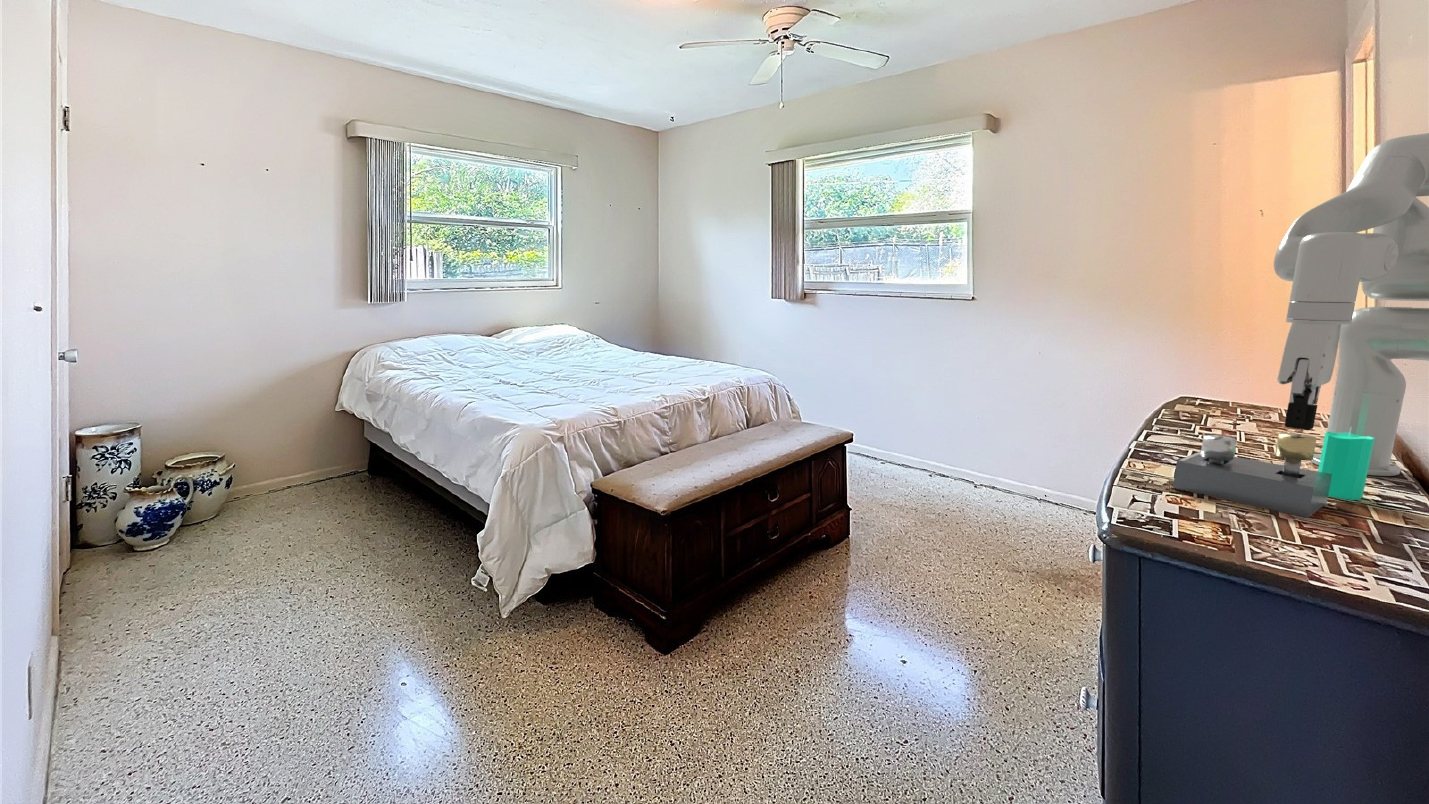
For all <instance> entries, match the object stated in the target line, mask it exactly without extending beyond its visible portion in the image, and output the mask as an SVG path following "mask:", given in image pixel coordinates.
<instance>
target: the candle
mask: <svg viewBox="0 0 1429 804" xmlns="http://www.w3.org/2000/svg"><path fill="white" fill-rule="evenodd" d="M1351 428H1352V427H1350V432H1349V433H1333V432H1327V431H1326V432H1325V433H1324V437H1323V443H1322V447H1321V448H1322V449H1321V452H1320V454H1321V458H1320V463H1319V465H1318V472H1324V473H1329V474H1332V478H1331V484H1330V489H1329V494H1328V497H1331V498H1336V499H1341V500H1351V501H1354V500H1355V501H1357V500H1359V501H1360V500H1361V498H1362V499H1363V497H1364V492H1365V487H1366V482H1367V477H1368V475H1367V473H1368V468H1369V463H1370V458H1371V453H1372V448H1373V443H1374V438H1373V437H1369V436H1357V435H1354V434H1351Z"/></svg>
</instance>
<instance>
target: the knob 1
mask: <svg viewBox="0 0 1429 804" xmlns="http://www.w3.org/2000/svg"><path fill="white" fill-rule="evenodd" d="M1201 443H1202V444H1201V449H1200V451H1201V456H1202V457H1205V458H1209V461H1210V462H1215V463H1221V464H1223V462H1224V461H1232V460H1234V457H1235V453H1236V447H1237V446H1236V445H1237V439H1236V438H1234V437H1230V436H1226V435H1219V434H1218V435H1217V434H1205V435H1203V437H1202V442H1201Z"/></svg>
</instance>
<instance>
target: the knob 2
mask: <svg viewBox="0 0 1429 804" xmlns="http://www.w3.org/2000/svg"><path fill="white" fill-rule="evenodd" d="M1276 441H1277V442H1276V446H1275V452H1274V455H1275V456H1277V457H1280V458H1284V462H1283V465H1284V467H1283V472H1282V475H1285V476H1290V477H1296V478H1298V476H1299V471H1300V468H1301V466H1302V465H1301V464H1302V461H1311V460H1313V456H1314V455H1315V449H1316V444H1317V437H1316V436H1313V435H1309V434H1303V433H1298V432H1297V433H1295V432H1279V433H1278V436H1277V440H1276Z"/></svg>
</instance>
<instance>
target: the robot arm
mask: <svg viewBox="0 0 1429 804" xmlns="http://www.w3.org/2000/svg"><path fill="white" fill-rule="evenodd" d="M1419 197H1429V133H1428V132H1427V133H1419V134H1412V135H1410V134H1409V135H1403V136H1399V137H1393V138H1391V139H1388V140H1384V141H1383V142H1381V143H1379V144H1377V145H1376V146H1375V147H1373V148H1372V149H1371V150H1370V151H1369V152H1368V154H1367V155H1366V156H1365V158H1364V159H1363V161H1362V163H1361V165H1360V167H1359V169H1358V170H1357V171H1356V173H1355V176H1354V177H1353V178H1352V181H1351V183H1350V184H1349V186H1348V187H1347V189H1346V191H1345V192H1343V193H1340V194H1338V195H1335V196H1334V197H1332V198H1330V199H1328V200H1326V201H1324V202H1322V203H1320V204H1319V205H1318V204H1317V205H1316V206H1314V207H1313V208H1311V209H1309V210H1308V211H1305V212H1304V213H1303V214H1301V215H1300V216H1299V217H1297V218H1296V219H1295V220H1294V221H1293V223H1292V224H1291V225H1290V226H1289V228H1288V230H1287V231H1286V233H1285V234H1284V236H1283V238H1282V240H1281V241H1280V243H1279V245H1278V248H1277V250H1276V252H1275V254H1274V260H1273V269H1274V273H1275V274H1276V276H1277V277H1278V278H1280V279H1281V280H1284V281H1287V282H1292V285H1291V291H1290V294H1289V295H1290V296H1289V303H1288V308H1287V313H1286V320H1285V322H1286V323H1291V325H1290V327H1289V331H1288V333H1287V337H1286V341H1285V345H1284V347H1283V348H1284V349H1283V354H1282V358H1281V362H1280V366H1279V371H1278V376H1277V378H1276V379H1277V383H1278V384H1280V385H1287V384H1290V383H1291V388H1290V394H1289V402H1288V403H1287V404H1288V405H1287V410H1286V415H1285V420H1284V421H1285V422H1284V426H1285V428H1287V429H1295V430H1296V429H1297V430H1302V431H1310V430H1313V428H1314V426H1315V420H1316V416H1317V410H1318V402H1319V401H1318V400H1319V397H1320V392H1321V387H1322V386H1324V385H1327V384H1328V383H1330V381H1331V380H1332V377H1333V373H1334V368H1335V365H1336V359H1337V354H1338V347H1339V355H1338V356H1339V361H1338V367H1337V368H1338V369H1337V373H1336V374H1337V375H1336V381H1335V384H1334V385H1335V386H1334V393H1333V397H1332V402H1331V408H1330V414H1329V418H1328V423H1327V429H1326V432H1333V433H1349V432H1350V427H1352V428H1351V434H1354V435H1357V436H1369V437H1373V438H1374V443H1373V448H1372V453H1371V458H1370V463H1369V468H1368V473H1367V476H1374V477H1375V476H1377V477H1394V476H1398V475H1400V474H1401V467H1400V466H1398V465H1396V464H1393V463H1391V459H1392V455H1393V449H1394V446H1395V441H1396V435H1397V430H1398V427H1399V421H1400V416H1401V412H1402V411H1401V410H1402V407H1403V402H1404V397H1405V394H1406V388H1407V381H1406V378H1405V376H1404V374H1403V373H1402V371H1401V370H1400V369H1399V368H1398V367H1397V366H1396V365H1395V363H1393V361H1392V360H1393V359H1394V360H1413V361H1414V360H1415V361H1426V362H1428V361H1429V307H1428V308H1427V307H1412V306H1411V307H1409V306H1408V307H1407V306H1369V307H1362V308H1358V309H1355V305H1356V300H1357V296H1358V291H1359V286H1360V285H1359V284H1360V283H1361V290H1362V292H1363V294H1364V295H1365V296H1366V297H1368V298H1370V299H1374V300H1382V301H1397V302H1398V301H1399V302H1402V301H1403V302H1404V301H1405V302H1429V206H1428V205H1427V204H1426V203H1424V202H1423V201H1422V200H1420V199H1419ZM1371 229H1373V231H1372V232H1368V233H1367V232H1366V233H1360V232H1365V231H1368V230H1371ZM1320 458H1321V453H1314V456H1313V460H1310V462H1311V463H1313V464H1314V465H1317V466H1319V463H1320Z"/></svg>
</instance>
